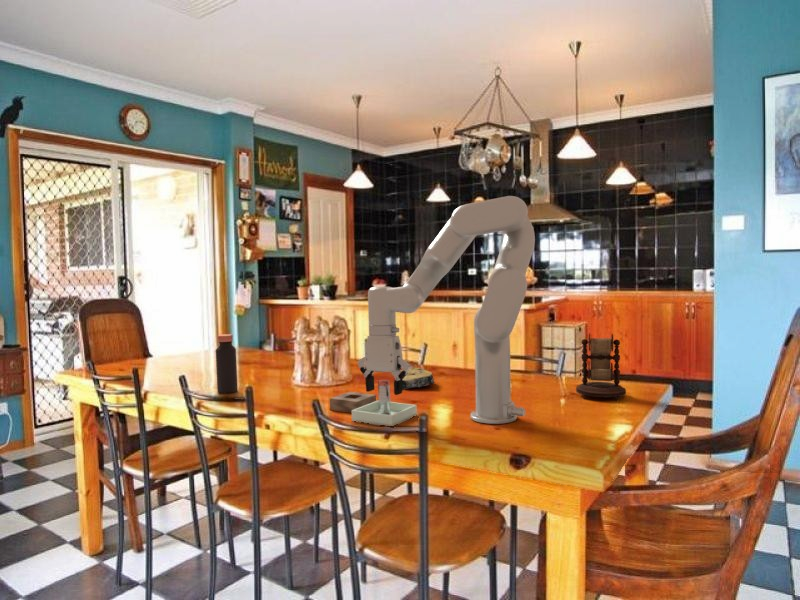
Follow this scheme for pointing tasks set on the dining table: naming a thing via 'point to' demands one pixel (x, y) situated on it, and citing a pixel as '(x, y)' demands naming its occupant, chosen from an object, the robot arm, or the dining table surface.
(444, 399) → the dining table surface
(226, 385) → the bottle
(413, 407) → the tray
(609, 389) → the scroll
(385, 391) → the pin
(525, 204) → the robot arm
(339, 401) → the block
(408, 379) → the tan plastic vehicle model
